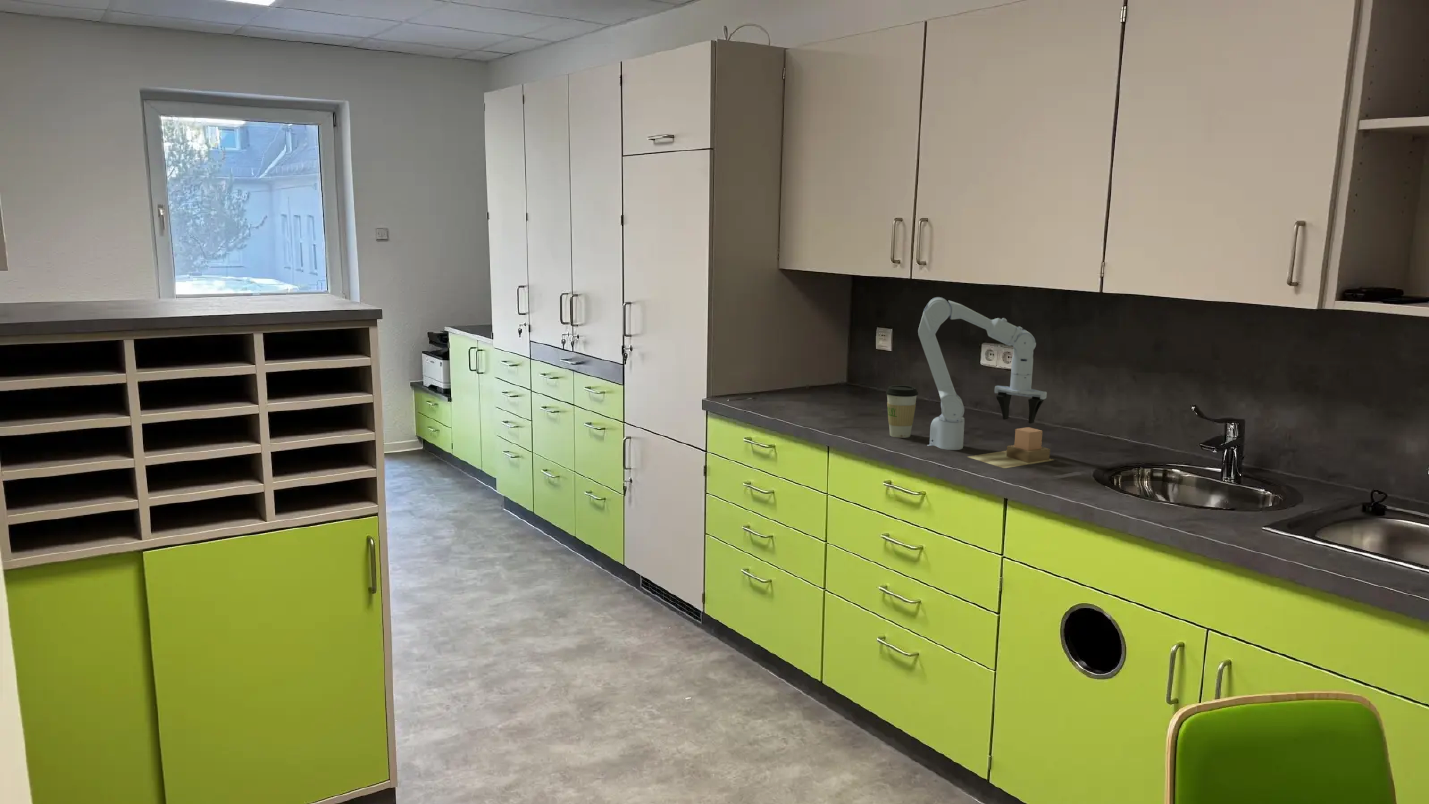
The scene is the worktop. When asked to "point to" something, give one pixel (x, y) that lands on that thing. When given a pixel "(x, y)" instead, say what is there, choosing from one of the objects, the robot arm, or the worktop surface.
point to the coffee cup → (901, 409)
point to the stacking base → (1001, 460)
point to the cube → (1028, 438)
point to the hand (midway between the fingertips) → (1018, 420)
